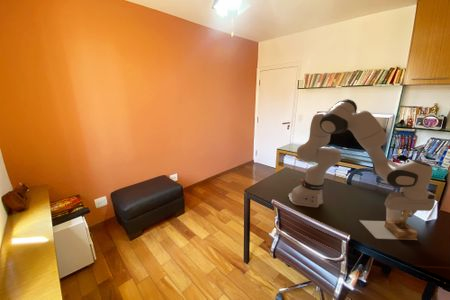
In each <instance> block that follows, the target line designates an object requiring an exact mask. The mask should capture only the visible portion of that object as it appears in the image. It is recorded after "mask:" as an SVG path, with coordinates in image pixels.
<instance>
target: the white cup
mask: <svg viewBox="0 0 450 300" xmlns="http://www.w3.org/2000/svg"><path fill="white" fill-rule="evenodd" d="M385 210H386V214H385V215H386V217H385V218H386V220H393V221H399V219H400V217H399V216H398V211H397V210H390V209H388V208H387V207H385ZM386 220H385V221H386Z"/></svg>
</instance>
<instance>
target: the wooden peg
mask: <svg viewBox="0 0 450 300" xmlns="http://www.w3.org/2000/svg"><path fill="white" fill-rule="evenodd" d="M410 211H411V210H403V212H402V213H403V214H404V216H403V217H400V219H399V223H398V226H400V227H403V228H405V226H406V223H407V224H408V219H409V218H410V217H409V214H410Z"/></svg>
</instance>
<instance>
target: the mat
mask: <svg viewBox="0 0 450 300" xmlns="http://www.w3.org/2000/svg"><path fill="white" fill-rule="evenodd" d="M359 222H360V223H361V224H362V225H363V226H364V227H365V228H366V229H367V230H368V231H369V233H370V234H371V235H372V236H373V237H374V238H375V239H381V240H399V239H398V238H396V237H395V236H394V235H393V234H392V233H391V232H390V231H389V230H388V229H386V228H385V227H384V225H385V222H386V220H361V219H359ZM403 240H408V241H409V240H410V241H412V240H413V241H418V239H417V238H416V239H403Z"/></svg>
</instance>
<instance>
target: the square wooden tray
mask: <svg viewBox="0 0 450 300" xmlns="http://www.w3.org/2000/svg"><path fill="white" fill-rule="evenodd" d="M385 221H386V222H385V225H384V227H385V228H386V229H388V230H389V231H390V232H391V233H392V234H393V235H394V236H395V237H396V238H398V239H397V240H404V239H417V237H418V235H419V232H418V231H417V230H416V229H414V228H413V227H412V226H410V225H409V224H408V222H407V223H406V226H405V228H403V227H400V226H398V223H399V221H393V220H385Z"/></svg>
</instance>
